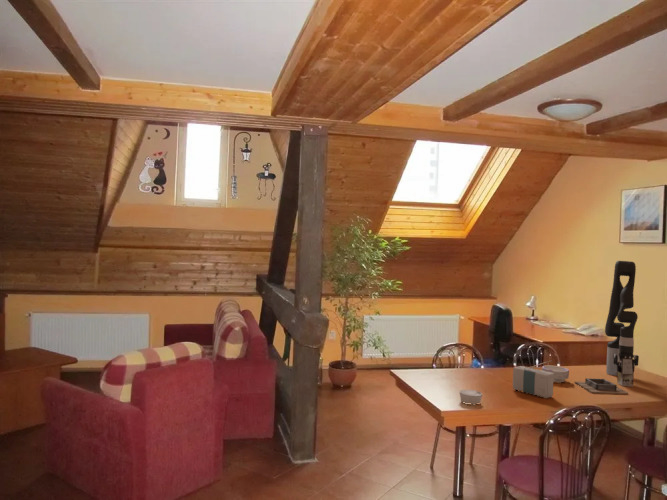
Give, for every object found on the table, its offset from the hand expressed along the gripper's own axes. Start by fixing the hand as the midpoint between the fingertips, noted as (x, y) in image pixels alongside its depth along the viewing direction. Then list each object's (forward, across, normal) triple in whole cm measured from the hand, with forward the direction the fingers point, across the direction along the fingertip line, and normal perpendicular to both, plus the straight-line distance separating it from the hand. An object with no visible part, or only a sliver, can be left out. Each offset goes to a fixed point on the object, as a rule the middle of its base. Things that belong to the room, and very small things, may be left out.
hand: (625, 372), depth 318 cm
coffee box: (+7, 0, 0) cm, 7 cm away
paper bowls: (+8, +40, -4) cm, 41 cm away
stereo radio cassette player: (+8, +64, +26) cm, 70 cm away
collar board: (+7, +20, +11) cm, 24 cm away
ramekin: (+8, +103, +46) cm, 113 cm away
